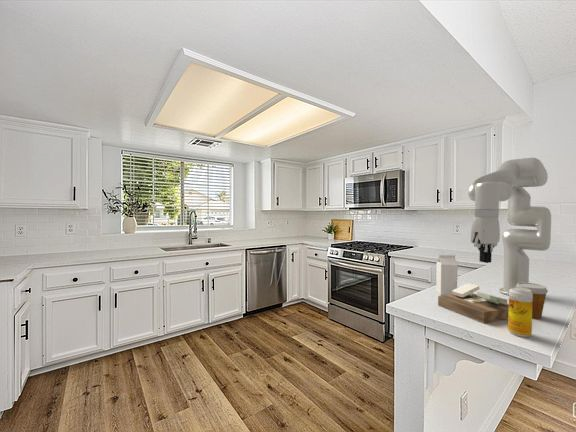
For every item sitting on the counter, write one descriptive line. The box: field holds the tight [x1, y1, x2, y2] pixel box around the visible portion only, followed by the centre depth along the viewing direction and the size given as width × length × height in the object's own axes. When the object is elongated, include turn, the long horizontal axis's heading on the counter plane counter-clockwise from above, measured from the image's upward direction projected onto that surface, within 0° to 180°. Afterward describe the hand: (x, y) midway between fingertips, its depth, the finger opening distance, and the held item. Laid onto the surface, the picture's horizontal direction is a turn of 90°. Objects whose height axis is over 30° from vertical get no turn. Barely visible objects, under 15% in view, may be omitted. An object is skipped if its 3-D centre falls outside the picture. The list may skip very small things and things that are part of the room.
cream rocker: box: [452, 282, 480, 297], centre depth 122 cm, size 10×5×2 cm, turn 109°
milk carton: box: [435, 254, 459, 296], centre depth 138 cm, size 7×7×19 cm
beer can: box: [507, 287, 533, 338], centre depth 95 cm, size 6×6×15 cm
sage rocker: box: [476, 291, 508, 304], centre depth 112 cm, size 10×5×2 cm, turn 110°
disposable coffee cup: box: [516, 282, 549, 320], centre depth 110 cm, size 10×10×12 cm
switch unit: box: [437, 292, 509, 324], centre depth 116 cm, size 18×20×5 cm
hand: (485, 261), depth 110 cm, fingers closed
